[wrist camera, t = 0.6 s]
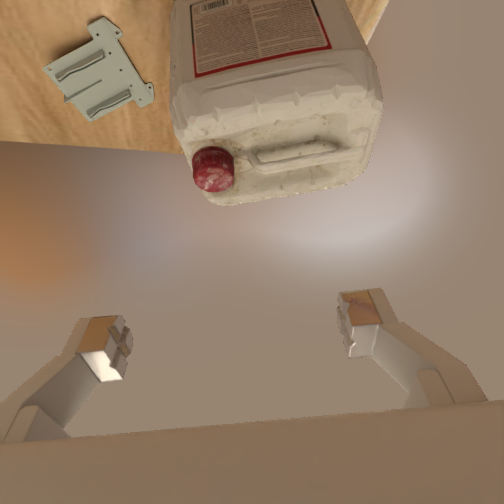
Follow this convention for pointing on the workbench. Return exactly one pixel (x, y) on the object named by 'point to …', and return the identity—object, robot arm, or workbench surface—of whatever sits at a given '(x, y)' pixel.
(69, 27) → the workbench surface
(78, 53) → the metal bracket
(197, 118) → the jerry can
